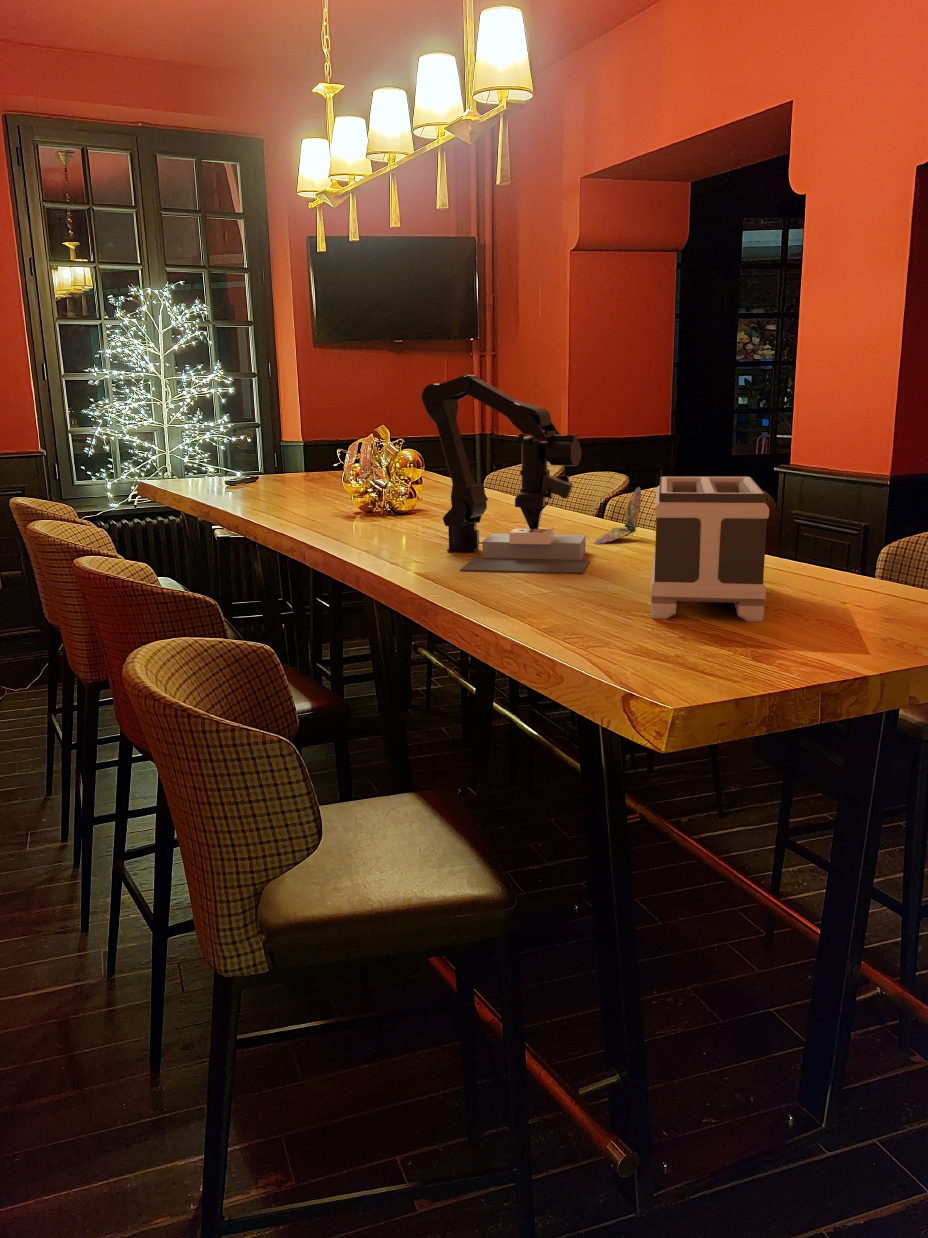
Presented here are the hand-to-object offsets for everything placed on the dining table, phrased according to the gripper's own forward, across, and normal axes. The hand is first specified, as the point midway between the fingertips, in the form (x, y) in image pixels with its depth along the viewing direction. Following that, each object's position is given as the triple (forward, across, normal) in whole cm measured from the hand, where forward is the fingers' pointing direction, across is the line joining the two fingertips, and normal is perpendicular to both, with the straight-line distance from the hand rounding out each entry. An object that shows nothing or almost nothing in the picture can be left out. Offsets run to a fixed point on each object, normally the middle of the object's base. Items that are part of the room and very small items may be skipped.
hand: (534, 534), depth 217 cm
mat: (+5, -12, 0) cm, 13 cm away
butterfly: (+6, +24, -17) cm, 30 cm away
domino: (+1, -4, 0) cm, 4 cm away
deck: (+5, +1, 0) cm, 5 cm away
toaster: (+6, -40, -36) cm, 54 cm away
